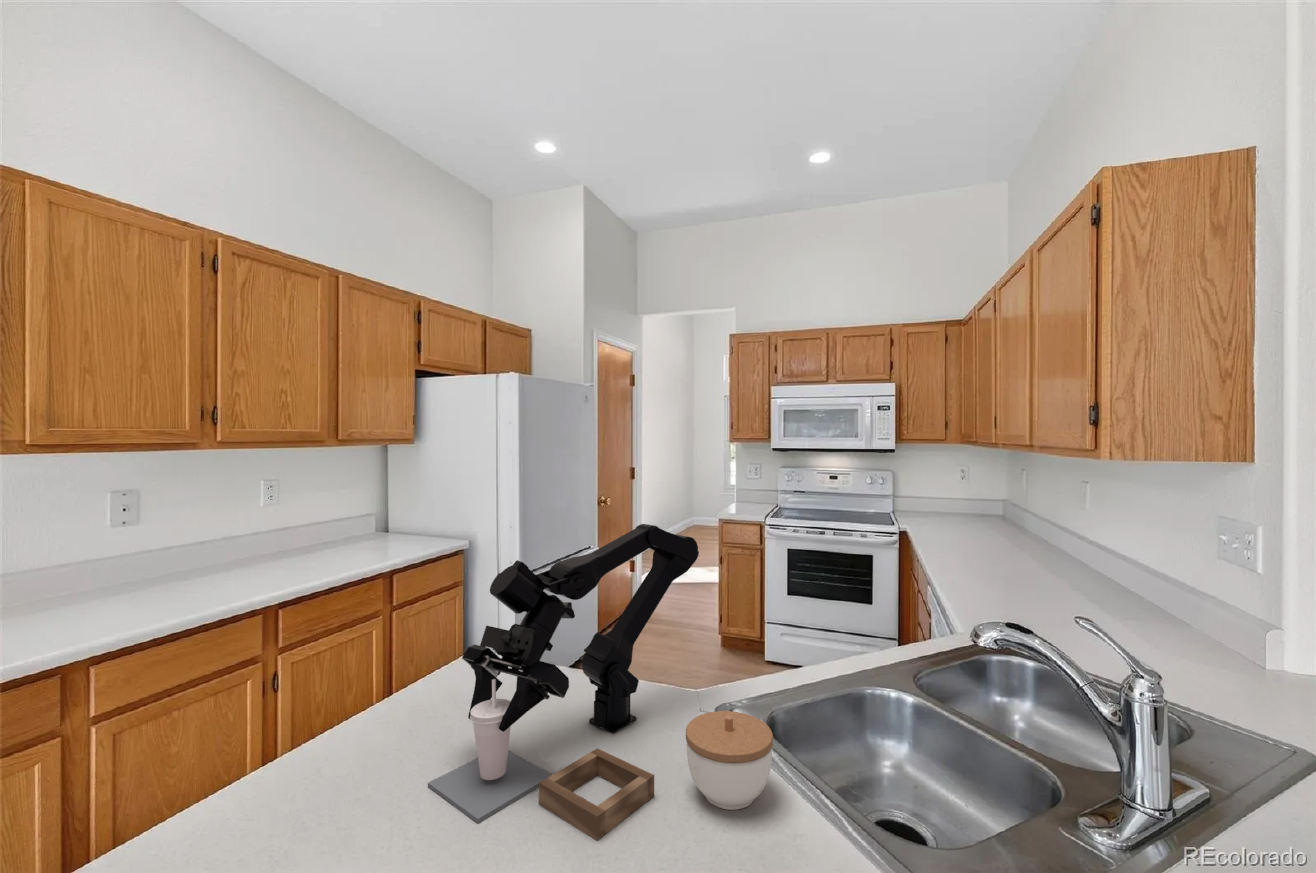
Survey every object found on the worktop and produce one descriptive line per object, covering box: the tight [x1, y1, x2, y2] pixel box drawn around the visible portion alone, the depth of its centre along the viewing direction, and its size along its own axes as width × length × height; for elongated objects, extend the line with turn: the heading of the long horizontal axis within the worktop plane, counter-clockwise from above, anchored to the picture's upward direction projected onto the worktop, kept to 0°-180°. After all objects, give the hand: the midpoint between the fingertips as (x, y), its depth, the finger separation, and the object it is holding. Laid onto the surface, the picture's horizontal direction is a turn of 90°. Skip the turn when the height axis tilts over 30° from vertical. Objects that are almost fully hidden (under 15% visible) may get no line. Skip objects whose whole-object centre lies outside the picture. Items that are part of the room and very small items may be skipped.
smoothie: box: [469, 679, 512, 780], centre depth 83 cm, size 6×6×14 cm
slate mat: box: [427, 749, 554, 824], centre depth 83 cm, size 13×13×1 cm
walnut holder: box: [538, 748, 655, 841], centre depth 78 cm, size 12×12×3 cm
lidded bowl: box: [685, 710, 774, 811], centre depth 80 cm, size 13×13×11 cm
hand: (485, 724), depth 82 cm, fingers closed on smoothie, 6 cm apart
